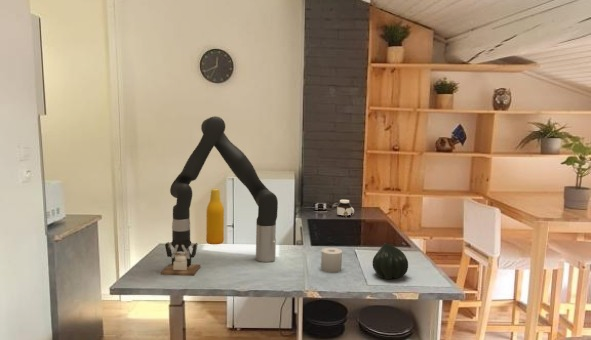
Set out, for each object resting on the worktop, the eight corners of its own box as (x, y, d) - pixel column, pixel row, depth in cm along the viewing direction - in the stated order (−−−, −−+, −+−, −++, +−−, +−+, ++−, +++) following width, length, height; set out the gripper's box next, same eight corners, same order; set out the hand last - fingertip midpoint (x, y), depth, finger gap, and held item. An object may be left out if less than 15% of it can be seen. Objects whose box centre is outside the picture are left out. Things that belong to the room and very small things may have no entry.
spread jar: (336, 217, 293) (337, 200, 291) (337, 213, 304) (338, 198, 302) (353, 218, 291) (354, 201, 289) (354, 214, 302) (354, 199, 300)
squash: (417, 270, 172) (405, 238, 180) (385, 274, 168) (374, 241, 176) (403, 282, 183) (392, 251, 191) (373, 287, 179) (363, 255, 187)
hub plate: (200, 266, 185) (200, 258, 185) (193, 275, 174) (193, 266, 174) (169, 265, 186) (169, 257, 185) (161, 274, 175) (161, 265, 174)
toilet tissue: (327, 261, 196) (328, 244, 196) (345, 270, 185) (346, 252, 184) (312, 265, 192) (312, 247, 191) (329, 274, 180) (330, 255, 180)
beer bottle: (215, 238, 230) (215, 187, 227) (227, 242, 225) (227, 189, 221) (202, 242, 222) (202, 189, 219) (214, 245, 217) (214, 191, 214)
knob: (189, 265, 183) (189, 251, 182) (186, 270, 177) (186, 255, 176) (177, 265, 183) (177, 251, 182) (173, 269, 177) (173, 255, 176)
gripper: (200, 226, 181) (200, 263, 183) (167, 225, 182) (168, 262, 184) (195, 231, 174) (195, 269, 176) (161, 230, 174) (162, 268, 176)
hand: (181, 266), depth 180 cm, fingers closed on knob, 5 cm apart
